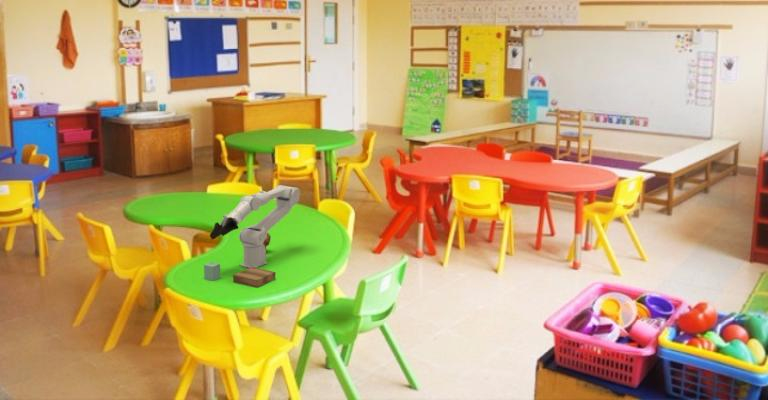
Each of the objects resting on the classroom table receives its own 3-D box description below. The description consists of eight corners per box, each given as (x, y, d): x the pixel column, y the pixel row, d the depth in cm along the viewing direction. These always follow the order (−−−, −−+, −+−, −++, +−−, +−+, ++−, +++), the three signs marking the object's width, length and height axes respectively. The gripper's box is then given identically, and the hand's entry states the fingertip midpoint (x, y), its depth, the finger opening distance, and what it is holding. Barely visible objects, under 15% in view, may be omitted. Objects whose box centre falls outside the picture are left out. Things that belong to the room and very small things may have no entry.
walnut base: (252, 273, 328) (252, 266, 327) (275, 279, 322) (275, 272, 322) (233, 282, 318) (233, 274, 317) (256, 287, 312) (256, 280, 311)
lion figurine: (266, 249, 361) (265, 230, 359) (273, 252, 357) (273, 233, 355) (240, 256, 350) (239, 236, 348) (247, 259, 347) (247, 239, 345)
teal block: (211, 275, 325) (211, 261, 323) (220, 277, 322) (220, 263, 321) (204, 278, 321) (204, 264, 319) (212, 280, 319) (212, 266, 317)
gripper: (221, 211, 330) (200, 231, 321) (240, 204, 320) (219, 224, 311) (231, 225, 332) (211, 244, 323) (251, 217, 322) (230, 238, 313)
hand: (216, 235), depth 317 cm, fingers open, 7 cm apart
